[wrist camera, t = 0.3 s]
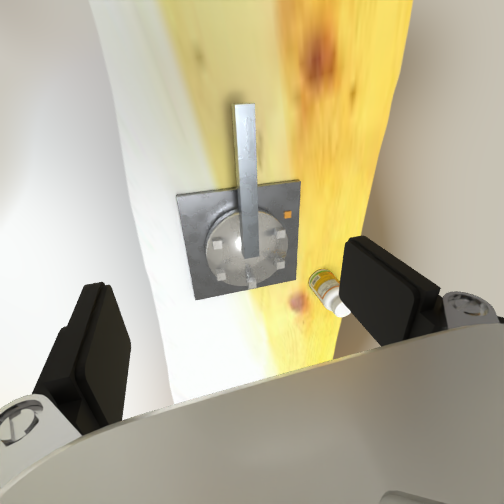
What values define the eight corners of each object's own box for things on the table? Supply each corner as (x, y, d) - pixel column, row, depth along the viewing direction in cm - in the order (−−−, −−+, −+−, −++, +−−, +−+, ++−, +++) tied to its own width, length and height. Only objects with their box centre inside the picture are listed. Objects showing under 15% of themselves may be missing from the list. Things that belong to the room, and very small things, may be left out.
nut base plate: (176, 195, 43) (176, 197, 42) (298, 179, 47) (301, 181, 46) (195, 297, 53) (195, 301, 52) (293, 276, 58) (296, 280, 57)
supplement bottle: (331, 285, 62) (357, 315, 54) (308, 292, 61) (331, 323, 53) (331, 265, 59) (358, 293, 51) (307, 272, 58) (331, 302, 50)
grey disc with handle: (184, 105, 37) (186, 107, 33) (285, 99, 40) (298, 100, 36) (209, 284, 51) (213, 300, 48) (282, 270, 54) (291, 283, 51)
